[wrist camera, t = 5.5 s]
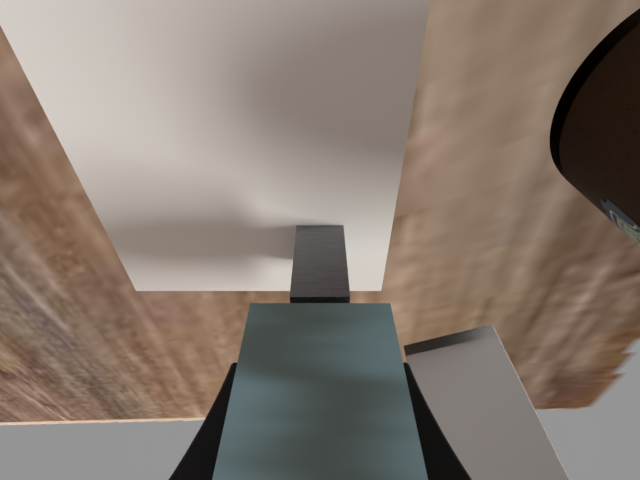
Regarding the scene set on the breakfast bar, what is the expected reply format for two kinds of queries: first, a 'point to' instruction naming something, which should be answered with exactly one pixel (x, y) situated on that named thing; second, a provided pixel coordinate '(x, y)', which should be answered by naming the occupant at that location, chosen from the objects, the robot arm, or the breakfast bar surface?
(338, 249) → the metal post
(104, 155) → the base board
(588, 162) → the olive oil
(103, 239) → the breakfast bar surface
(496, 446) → the milk carton
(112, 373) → the breakfast bar surface
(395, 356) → the teal brushed cube
